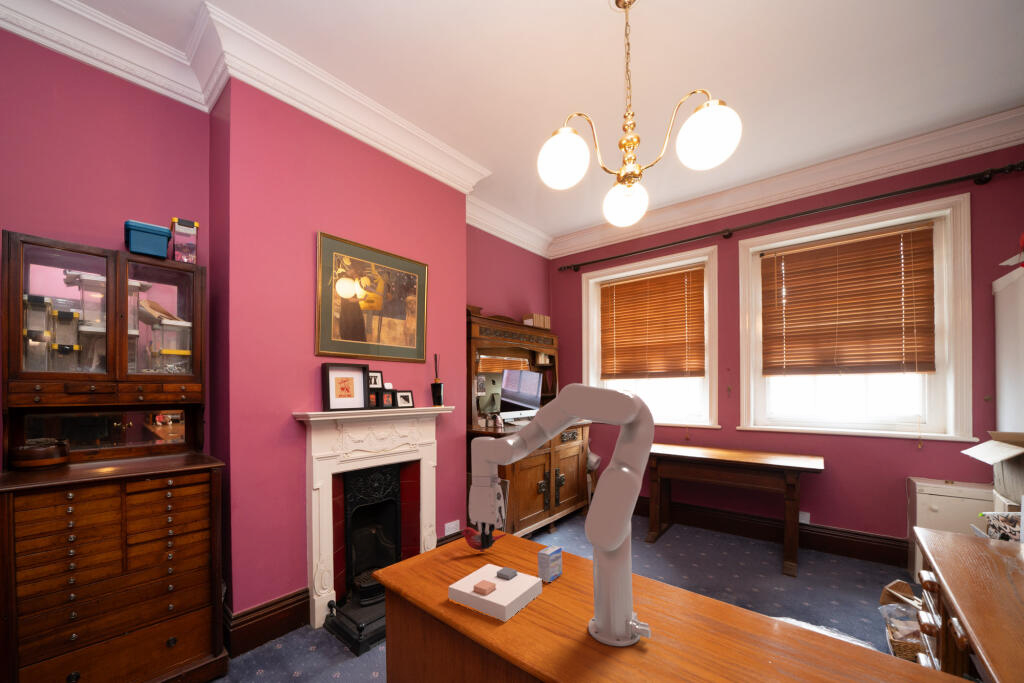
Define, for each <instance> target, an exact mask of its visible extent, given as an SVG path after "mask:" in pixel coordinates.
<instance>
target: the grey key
mask: <svg viewBox="0 0 1024 683" xmlns="http://www.w3.org/2000/svg"><path fill="white" fill-rule="evenodd" d="M517 572H518V570H517V569H515V568H512V567H511V568H510V567H507V566H504V567H502V569H501V570H499V571H497V577H498V578H501V579H505V580H508V581H509V580H511V579H512V578H514V577H515V576H517Z"/></svg>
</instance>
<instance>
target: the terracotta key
mask: <svg viewBox="0 0 1024 683" xmlns="http://www.w3.org/2000/svg"><path fill="white" fill-rule="evenodd" d="M495 590H496V584H495V583H492V582H489V581H486V580H482V581H480V582H479V583H477V584H476V585H474V592H476V593H479V594H482V595H484V596H487V595H489V594H490V593H492V592H493V591H495Z"/></svg>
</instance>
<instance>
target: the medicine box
mask: <svg viewBox="0 0 1024 683" xmlns="http://www.w3.org/2000/svg"><path fill="white" fill-rule="evenodd" d="M562 550H563V549H562V547H560V546H558V545H553V544H550V545H548V546H546V547H545V548H543V549H541V550H540V551H538V552H537V566H538V567H537V568H538V569H537V570H538V571H537V573H538V574H537V575H538V577H537V578H541V579H542V580H544V581H547V582H551V581H553V580H554V579H555V578H557V577H558V576H560V575H561V574H562V575H563V551H562ZM562 575H561V576H562ZM561 576H560V577H561ZM558 578H559V577H558ZM558 578H557V579H558ZM555 580H556V579H555ZM555 580H554V581H555ZM544 581H543V582H544ZM554 581H553V582H554ZM547 582H546V583H547ZM551 583H552V582H551Z"/></svg>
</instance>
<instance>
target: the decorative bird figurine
mask: <svg viewBox="0 0 1024 683" xmlns="http://www.w3.org/2000/svg"><path fill="white" fill-rule="evenodd" d="M461 535H462V536H463V537H464V539H465V541H466V544H467V545H468V546H469V547H470V548H471V549H474V550H475V551H479V552H484V551H485V550H486V549H483V548H481V533H479V531H477V530H475V529H474V528H473V527H470V526H467V527H465V528H464V530H463V531H462V532H461ZM506 535H508V533H502V534H499V535H492V538H493V543H492V545H494V544H495V543H496V541H497V540H499V539H501V538H504V537H505V536H506Z"/></svg>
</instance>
